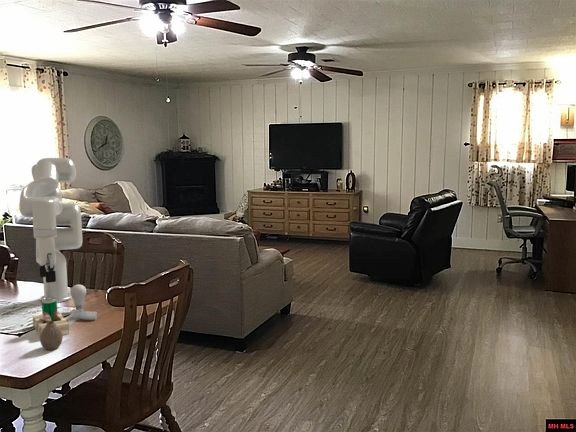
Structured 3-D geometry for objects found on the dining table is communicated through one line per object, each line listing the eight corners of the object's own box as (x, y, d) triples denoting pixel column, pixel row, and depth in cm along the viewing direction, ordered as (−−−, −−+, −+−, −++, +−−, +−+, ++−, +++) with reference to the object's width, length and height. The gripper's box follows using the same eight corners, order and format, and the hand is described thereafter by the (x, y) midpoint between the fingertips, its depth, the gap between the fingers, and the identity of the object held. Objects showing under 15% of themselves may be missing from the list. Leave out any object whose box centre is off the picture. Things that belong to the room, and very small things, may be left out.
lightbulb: (81, 313, 207) (80, 287, 205) (68, 312, 208) (66, 286, 206) (90, 308, 213) (89, 283, 211) (77, 307, 214) (75, 282, 212)
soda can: (40, 331, 187) (38, 299, 185) (51, 326, 192) (49, 295, 190) (50, 333, 185) (48, 301, 183) (61, 328, 189) (59, 297, 188)
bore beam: (33, 326, 192) (32, 315, 191) (58, 321, 197) (58, 311, 197) (42, 339, 179) (41, 328, 179) (69, 333, 185) (68, 323, 184)
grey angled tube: (61, 319, 199) (60, 312, 199) (91, 314, 206) (91, 307, 205) (66, 325, 193) (66, 318, 192) (97, 319, 199) (97, 312, 199)
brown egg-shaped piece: (45, 344, 175) (43, 319, 174) (66, 343, 176) (64, 319, 174) (37, 352, 168) (35, 326, 167) (58, 351, 169) (57, 326, 168)
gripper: (29, 231, 188) (31, 276, 190) (38, 237, 174) (41, 285, 176) (51, 229, 192) (53, 273, 194) (62, 235, 178) (64, 282, 181)
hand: (47, 279), depth 185 cm, fingers open, 9 cm apart
